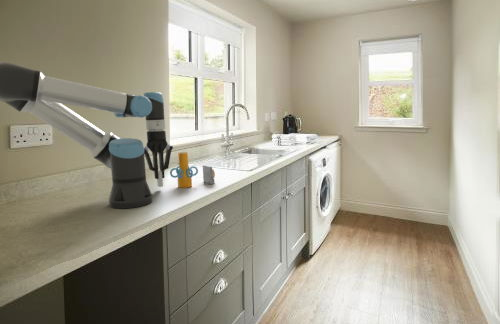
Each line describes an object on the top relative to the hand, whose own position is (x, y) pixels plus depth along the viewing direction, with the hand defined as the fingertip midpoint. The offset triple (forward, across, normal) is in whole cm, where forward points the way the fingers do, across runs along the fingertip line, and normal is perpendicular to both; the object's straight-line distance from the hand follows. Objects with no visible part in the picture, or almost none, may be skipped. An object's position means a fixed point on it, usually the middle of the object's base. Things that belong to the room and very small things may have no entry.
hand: (160, 186), depth 148 cm
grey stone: (+2, +22, 0) cm, 22 cm away
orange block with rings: (+2, +11, 0) cm, 11 cm away
